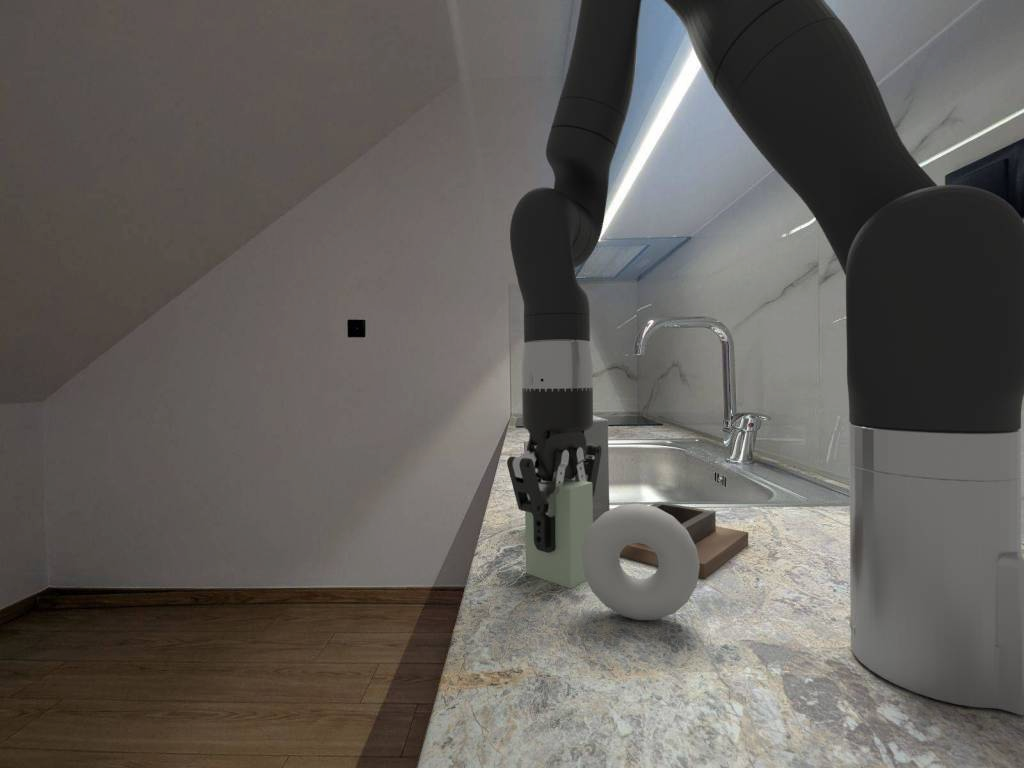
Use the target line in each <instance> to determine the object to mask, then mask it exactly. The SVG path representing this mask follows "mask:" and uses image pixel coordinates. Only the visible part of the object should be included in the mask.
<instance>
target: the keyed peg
mask: <svg viewBox="0 0 1024 768" xmlns="http://www.w3.org/2000/svg"><path fill="white" fill-rule="evenodd" d="M541 481H542V483H541V484H545V485H550V484H551V483H552V482H549V481H543V480H542V479H541ZM541 496H542V500H543V503H545V502H546V496H547V494H546V492H544V491H542V492H541ZM527 497H528V500H530V497H529V495H528V494H527ZM524 512H525V514H524V519H525V528H524V529H525V574H528V575H530V576H534V577H536V578H539V579H542V580H544V581H548V582H551V583H554V584H556V585H560V586H562V587H565V588H567V589H571V590H572V589H573V588H575V587H577V586H578V585H580V584H583V583H584V582H587V580H586V578H585V576H584V570H583V564H582V557H581V556H582V549H583V543H584V538H585V536H586V535H587V533H588V531H589V529H590V527H591V525H592V524H593V492H592V482H586V481H580V482H579V481H575V480H574V479H564V481H563V486H562V487H559V493H558V494H556V508H555V514H554V515H553V516H555V550H554V551H553V552H550V553H547V552H543V551H540V550H538V549H537V548H536V546H535V544H534V525H533V515H532V513H530V512H526V511H524Z"/></svg>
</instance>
